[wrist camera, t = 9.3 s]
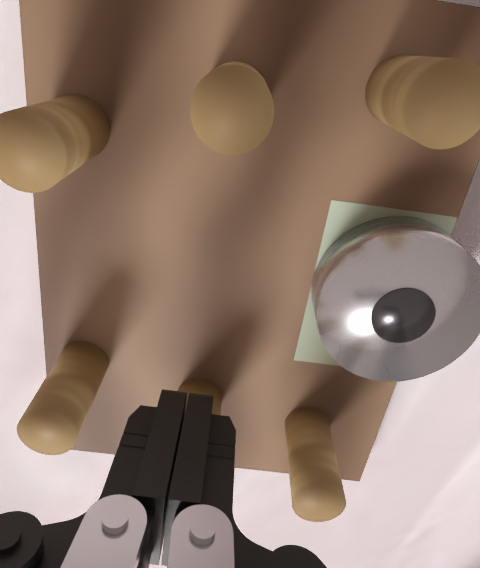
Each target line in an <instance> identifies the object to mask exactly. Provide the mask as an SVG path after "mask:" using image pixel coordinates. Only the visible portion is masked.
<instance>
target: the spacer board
mask: <svg viewBox="0 0 480 568" xmlns="http://www.w3.org/2000/svg"><path fill="white" fill-rule="evenodd" d="M19 4H20V18H21V32H22V45H23V59H24V73H25V86H26V100H27V106H26V107H22V108H18V109H15V110H11V111H7V112H4V113H1V114H0V179H1V180H2V181H3V182H4V183H6V184H7V185H9V186H11V187H12V188H15V189H17V190H20V191H23V192H30V193H33V195H34V209H35V223H36V236H37V250H38V264H39V277H40V291H41V305H42V318H43V332H44V345H45V359H46V373H47V377H46V379H45V380H44V382H43V384H42V385H41V387H40V388H39V390H38V392H37V393H36V395H35V397H34V398H33V400H32V402H31V403H30V405H29V406H28V408H27V410H26V411H25V413H24V415H23V416H22V418H21V420H20V421H19V423H18V426H17V433H18V436H19V438H20V439H21V441H22V442H23V443H24V444H25V445H26V446H27V447H29V448H30V449H32V450H34V451H36V452H39V453H42V454H47V455H58V454H63V453H65V452H67V451H69V450H79V451H88V452H98V453H107V454H116V452H117V449H118V447H119V443H120V440H121V437H122V435H123V432H124V429H125V426H126V423H127V420H128V418H129V416H130V415H131V414H132V413H133V412H134V411H135V410H136V409H137V408H138V407H139V406H140V405H144V406H152V407H157V405H158V401H159V398H160V394H161V391H162V389H165V390H173V391H181V392H187V401H188V396H189V393H197V394H205V395H212V396H214V398H213V406H212V414H215V415H223V416H230V418H231V421H232V423H233V425H234V427H235V429H236V444H235V460H234V462H235V464H234V468H244V469H253V470H262V471H271V472H280V473H289V476H290V487H291V497H292V507H293V510H294V512H295V513H296V514H297V515H298V516H299V517H301V518H302V519H305V520H308V521H313V522H322V521H328V520H331V519H333V518H335V517H337V516H339V515H340V514H341V513H342V512H343V510H344V509H345V506H346V500H345V495H344V491H343V486H342V481H341V479H344V480H353V481H360V479H361V476H362V473H363V471H364V468H365V465H366V462H367V460H368V457H369V454H370V452H371V449H372V446H373V444H374V441H375V438H376V436H377V433H378V430H379V428H380V425H381V422H382V420H383V417H384V414H385V411H386V409H387V406H388V403H389V401H390V398H391V395H392V393H393V390H394V387H395V385H396V382H397V381H393V382H391V381H377V380H371V379H367V378H364V377H361V376H358V375H356V374H353V373H352V372H350V371H348V370H346V369H345V368H343V367H342V366H341V365H339V364H338V363H337V362H336V361H335V360H334V359H333V358H332V357H331V356H330V354H329V353H328V352H327V350H326V348H325V347H324V345H323V343H322V340H321V337H320V334H319V330H318V326H317V322H316V318H315V314H314V310H313V305H312V300H311V285H312V279H313V275H314V271H315V269H316V267H317V265H318V263H319V261H320V259H321V258H322V256H323V254H324V253H325V252H326V250H327V249H328V248H329V247H330V246H331V245H332V244H333V243H334V242H335V241H336V240H337V239H338V238H339V237H340V236H342V235H343V234H344V233H346V232H347V231H349V230H350V229H352V228H354V227H356V226H358V225H360V224H362V223H364V222H367V221H370V220H373V219H377V218H382V217H387V216H410V217H415V218H420V219H423V220H426V221H429V222H431V223H433V224H435V225H437V226H438V227H440V228H441V229H443V230H444V231H445V232H446V233H447V234H449V235H450V236H451V235H452V232H453V230H454V227H455V224H456V222H457V219H458V215H459V213H460V210H461V207H462V205H463V202H464V199H465V197H466V194H467V191H468V189H469V186H470V183H471V181H472V178H473V175H474V173H475V170H476V167H477V164H478V162H479V159H480V7H474V6H468V5H462V4H456V3H449V2H443V1H437V0H19ZM187 401H186V406H187ZM185 411H186V410H185Z"/></svg>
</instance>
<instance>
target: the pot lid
mask: <svg viewBox="0 0 480 568" xmlns="http://www.w3.org/2000/svg"><path fill="white" fill-rule="evenodd" d="M311 300H312V305H313V310H314V314H315V318H316V322H317V326H318V330H319V334H320V337H321V340H322V343H323V345H324V347H325V348H326V350H327V352H328V353H329V354H330V356H331V357H332V358H333V359H334V360H335V361H336V362H337V363H338V364H339V365H341V366H342V367H343V368H345V369H346V370H348V371H350V372H352V373H353V374H356V375H358V376H361V377H364V378H367V379H371V380H377V381H391V382H393V381H405V380H411V379H415V378H419V377H423V376H426V375H428V374H431V373H433V372H436V371H438V370H440V369H442V368H443V367H445V366H447V365H448V364H450V363H452V362H453V361H454V360H456V359H457V358H458V357H459V356H461V355H462V354H463V353H464V352H465V351H466V350H467V349H468V348H469V347H470V346H471V344H472V343H473V342H474V341H475V339H476V338H477V336H478V335H479V333H480V265H479V264H478V263H477V261H476V260H475V259H474V258H473V257H472V256H471V255H470V254H469V253H468V252H466V251H465V250H464V249H463V248H462V247H461V246H460V245H459V244H458V243H457V242H456V241H455V240H454V239H453V238H452V237H451V236H450V235H449V234H447V233H446V232H445V231H444V230H443V229H441V228H440V227H438V226H437V225H435V224H433V223H431V222H429V221H426V220H423V219H420V218H415V217H410V216H387V217H382V218H377V219H373V220H370V221H367V222H364V223H362V224H360V225H358V226H356V227H354V228H352V229H350V230H349V231H347V232H346V233H344V234H343V235H342V236H340V237H339V238H338V239H337V240H336V241H335V242H334V243H333V244H332V245H331V246H330V247H329V248H328V249H327V250H326V252H325V253H324V254H323V256H322V258H321V259H320V261H319V263H318V265H317V267H316V269H315V271H314V275H313V279H312V285H311Z"/></svg>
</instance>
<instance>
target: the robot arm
mask: <svg viewBox="0 0 480 568" xmlns="http://www.w3.org/2000/svg"><path fill="white" fill-rule="evenodd" d="M213 398H214V396H212V395H205V394H197V393H189V396H188V401H187V392H181V391H173V390H165V389H162V391H161V394H160V398H159V401H158V405H157V407H152V406H144V405H140V406H139V407H138V408H137V409H136V410H135V411H134V412H133V413H132V414H131V415H130V416H129V418H128V420H127V423H126V426H125V429H124V432H123V435H122V437H121V440H120V443H119V447H118V449H117V452H116V454H115V457H114V460H113V463H112V466H111V469H110V471H109V474H108V477H107V480H106V483H105V486H104V488H103V491H102V494H101V496H100V498H99V500H98V501H97V502H95V503H94V504H93V505H92V506H91V507H90V508H89V509H88V511H87V512H86V513H84V514H83V515H81V516H79V517H77V518H74V519H72V520H68V521H64V522H59V523H53V524H48V525H42V526H41V523H40V522H39V520H38V519H37V518H36V517H35V516H33V515H31V514H29V513H26V512H21V511H13V512H7V513H3V514H0V568H149V564H155V565H159V560H160V555H161V549H162V544H163V539H164V544H163V554H162V564H161V565H165V566H167V568H327V567H326V566H325V565H324V564H323V563H322V562H321V560H320V559H319V558H318V557H317V556H316V555H315V554H313V553H312V552H311V551H309V550H307V549H306V548H303V547H301V546H296V545H285V546H282V547H279V548H277V549H275V550H274V551H270V550H268V549H266V548H264V547H262V546H260V545H258V544H256V543H254V542H252V541H250V540H249V539H248V538H246V537H245V536H244V535H243V534H242V533H241V532H240V530H239V529H238V527H237V526H236V524H235V521H234V519H233V514H232V503H233V483H234V464H235V462H234V460H235V444H236V429H235V427H234V425H233V423H232V421H231V418H230V416H223V415H215V414H212V406H213ZM186 401H187V406H186ZM185 410H186V411H185Z"/></svg>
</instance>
